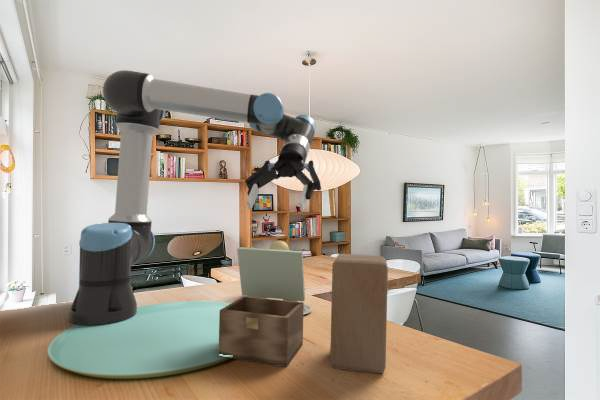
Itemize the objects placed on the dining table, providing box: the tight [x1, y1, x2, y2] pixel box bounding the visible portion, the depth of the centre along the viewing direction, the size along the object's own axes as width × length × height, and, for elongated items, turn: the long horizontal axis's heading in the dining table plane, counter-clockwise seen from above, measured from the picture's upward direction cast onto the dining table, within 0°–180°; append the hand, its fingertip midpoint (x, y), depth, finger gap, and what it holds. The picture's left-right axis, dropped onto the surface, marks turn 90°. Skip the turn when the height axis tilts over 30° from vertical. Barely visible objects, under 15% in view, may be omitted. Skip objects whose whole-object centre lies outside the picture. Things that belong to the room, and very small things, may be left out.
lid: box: [236, 240, 306, 302], centre depth 81 cm, size 14×11×9 cm
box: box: [218, 295, 305, 368], centre depth 73 cm, size 14×11×9 cm
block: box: [329, 253, 389, 374], centre depth 70 cm, size 10×10×20 cm
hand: (274, 206), depth 88 cm, fingers open, 13 cm apart
